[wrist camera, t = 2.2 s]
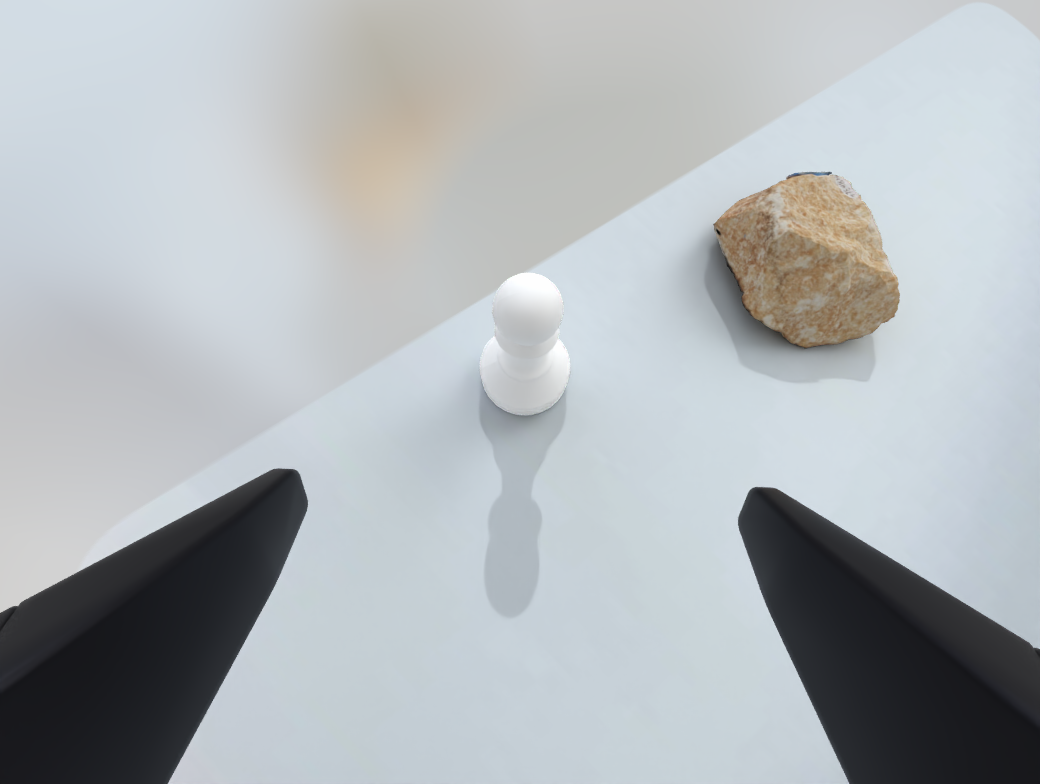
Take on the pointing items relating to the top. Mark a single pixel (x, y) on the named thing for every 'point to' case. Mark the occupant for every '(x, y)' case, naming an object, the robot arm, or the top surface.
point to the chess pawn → (526, 347)
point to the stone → (809, 260)
